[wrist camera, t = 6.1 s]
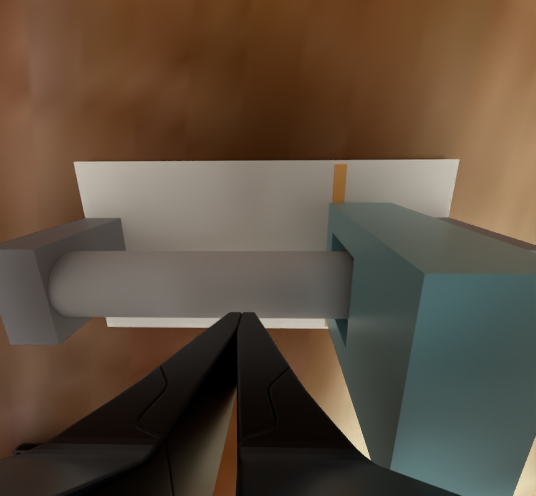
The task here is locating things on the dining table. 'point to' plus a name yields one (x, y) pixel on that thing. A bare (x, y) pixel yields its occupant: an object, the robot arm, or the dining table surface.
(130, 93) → the dining table surface
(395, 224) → the sleeve collar
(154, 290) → the pipe rig
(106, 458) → the robot arm
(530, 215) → the dining table surface
